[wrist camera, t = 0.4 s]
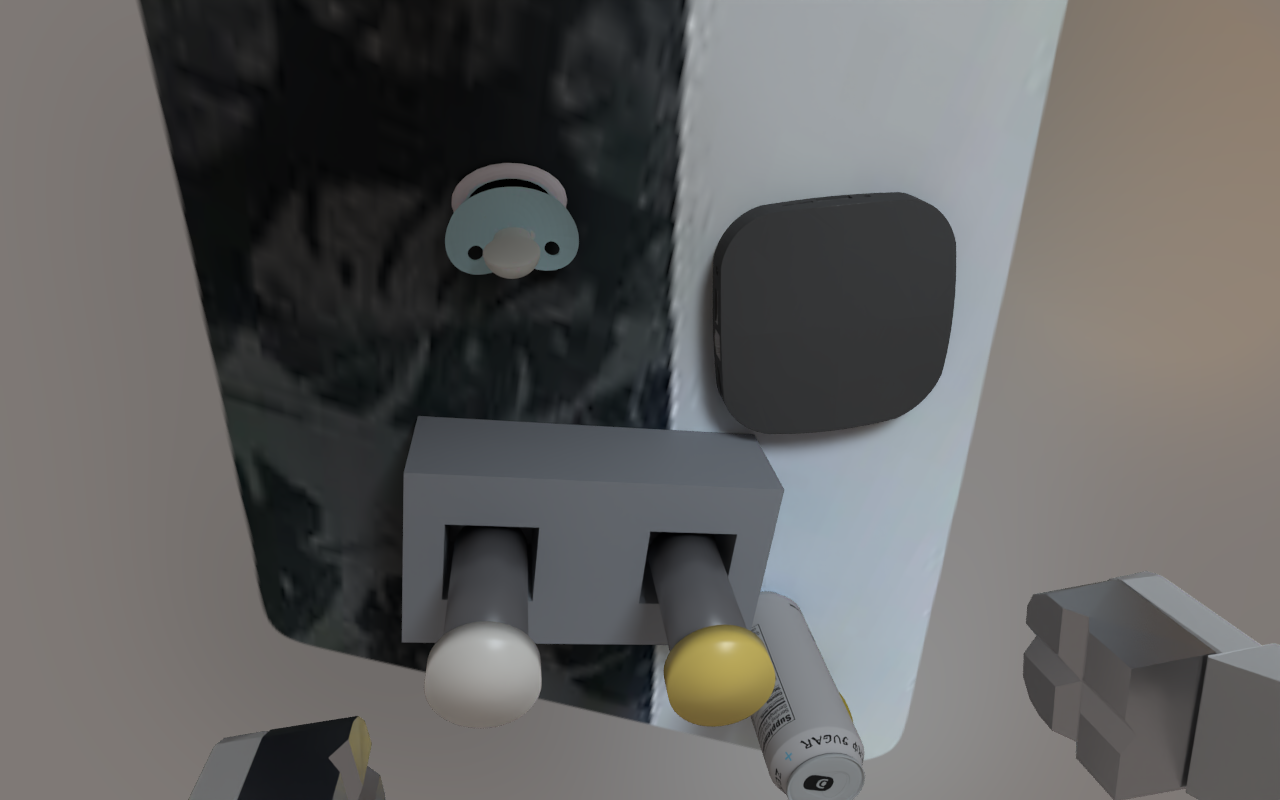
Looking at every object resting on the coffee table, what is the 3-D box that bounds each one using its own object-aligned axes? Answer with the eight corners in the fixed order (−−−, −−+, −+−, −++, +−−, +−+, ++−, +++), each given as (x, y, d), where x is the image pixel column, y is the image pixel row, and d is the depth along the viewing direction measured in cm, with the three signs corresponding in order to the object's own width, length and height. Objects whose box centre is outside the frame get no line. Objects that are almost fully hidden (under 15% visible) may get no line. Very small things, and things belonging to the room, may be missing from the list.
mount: (418, 416, 51) (403, 472, 45) (754, 434, 55) (784, 489, 49) (415, 571, 56) (401, 642, 50) (723, 579, 60) (747, 645, 54)
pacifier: (440, 164, 45) (453, 270, 48) (428, 181, 39) (443, 301, 42) (572, 158, 46) (578, 262, 48) (579, 175, 40) (585, 292, 43)
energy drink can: (781, 653, 64) (850, 824, 50) (710, 641, 62) (762, 815, 49) (810, 592, 62) (891, 755, 48) (737, 579, 60) (800, 743, 47)
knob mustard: (645, 514, 50) (676, 642, 40) (732, 517, 51) (785, 644, 41) (633, 587, 52) (660, 726, 42) (717, 589, 53) (764, 726, 43)
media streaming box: (923, 399, 56) (943, 418, 53) (714, 424, 55) (724, 446, 52) (944, 183, 50) (968, 193, 47) (708, 206, 48) (719, 218, 46)
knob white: (445, 506, 48) (425, 640, 38) (540, 510, 49) (545, 641, 39) (442, 583, 50) (422, 729, 40) (533, 585, 51) (536, 727, 41)
